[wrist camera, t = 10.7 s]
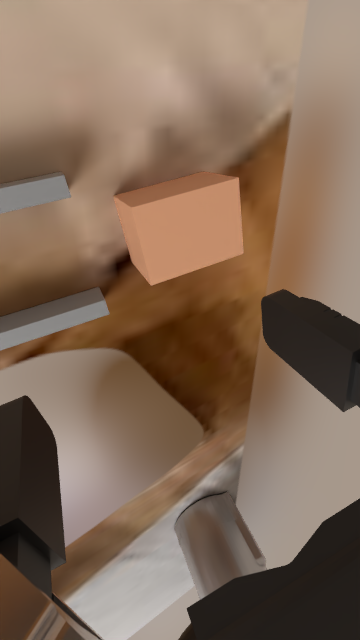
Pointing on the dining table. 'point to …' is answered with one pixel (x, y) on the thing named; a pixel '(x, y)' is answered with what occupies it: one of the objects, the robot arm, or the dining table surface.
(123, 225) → the block
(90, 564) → the dining table surface
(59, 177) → the channel
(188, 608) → the robot arm
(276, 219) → the dining table surface
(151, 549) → the dining table surface
